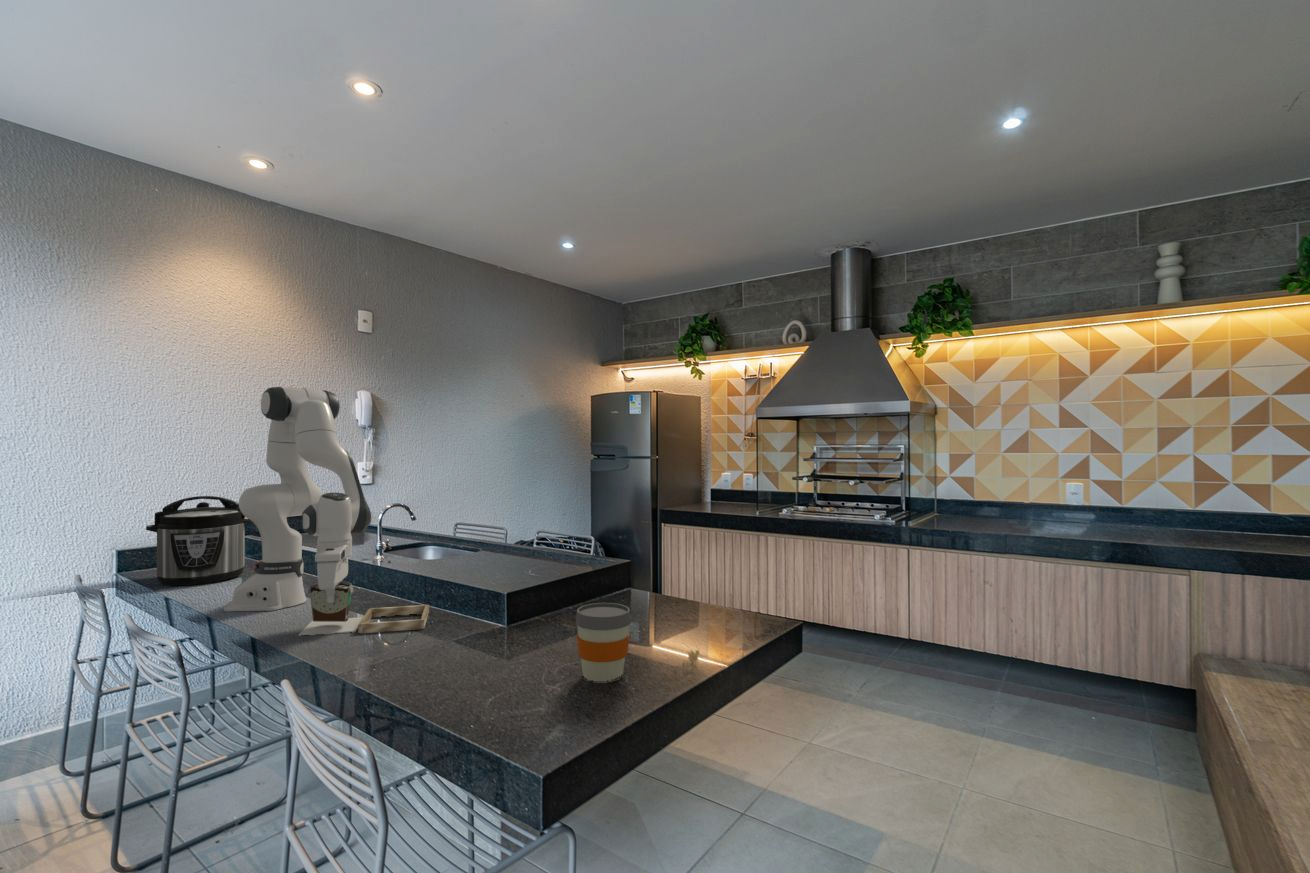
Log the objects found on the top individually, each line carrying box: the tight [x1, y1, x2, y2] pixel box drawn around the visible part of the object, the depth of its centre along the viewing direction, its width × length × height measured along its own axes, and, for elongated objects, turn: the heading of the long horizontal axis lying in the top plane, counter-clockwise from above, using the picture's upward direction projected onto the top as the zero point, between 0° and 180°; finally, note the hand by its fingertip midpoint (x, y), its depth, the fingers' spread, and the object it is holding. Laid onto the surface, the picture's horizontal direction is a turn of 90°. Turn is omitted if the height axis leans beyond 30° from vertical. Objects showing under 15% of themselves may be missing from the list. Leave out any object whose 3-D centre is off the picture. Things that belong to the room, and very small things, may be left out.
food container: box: [307, 580, 354, 622], centre depth 173 cm, size 12×6×10 cm, turn 88°
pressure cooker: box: [145, 495, 254, 586], centre depth 231 cm, size 30×28×32 cm
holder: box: [357, 604, 430, 634], centre depth 177 cm, size 17×17×2 cm
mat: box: [298, 616, 364, 637], centre depth 172 cm, size 14×14×1 cm
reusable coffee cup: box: [575, 602, 632, 681], centre depth 137 cm, size 13×12×15 cm
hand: (334, 598), depth 173 cm, fingers closed on food container, 6 cm apart
